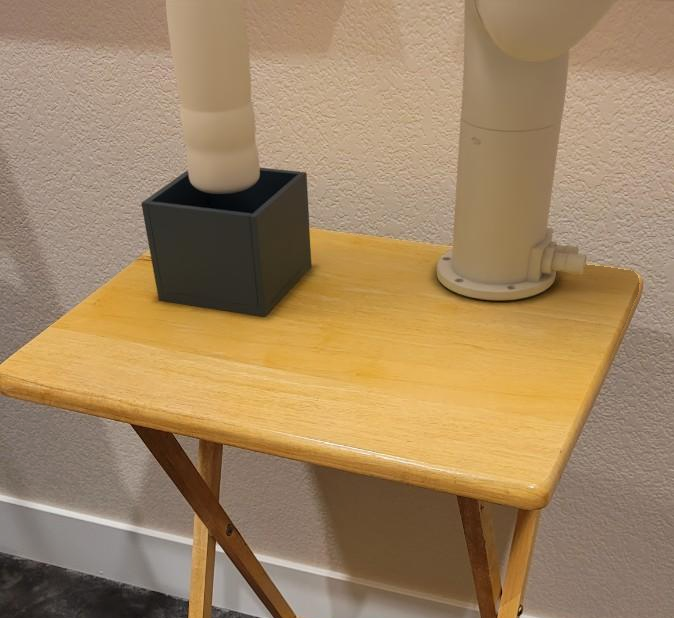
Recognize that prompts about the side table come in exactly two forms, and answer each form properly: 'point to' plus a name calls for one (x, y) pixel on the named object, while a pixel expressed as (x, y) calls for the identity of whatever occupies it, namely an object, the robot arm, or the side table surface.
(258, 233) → the bin
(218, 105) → the water bottle
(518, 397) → the side table surface
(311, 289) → the side table surface
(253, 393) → the side table surface
